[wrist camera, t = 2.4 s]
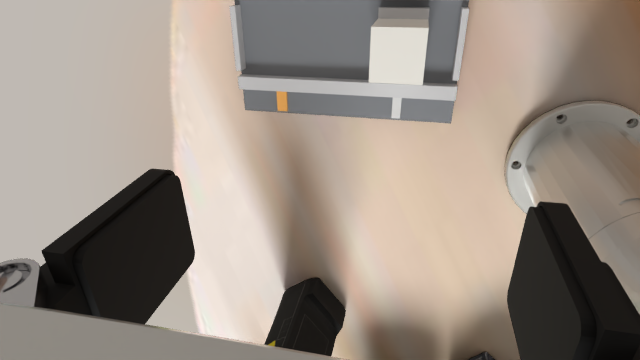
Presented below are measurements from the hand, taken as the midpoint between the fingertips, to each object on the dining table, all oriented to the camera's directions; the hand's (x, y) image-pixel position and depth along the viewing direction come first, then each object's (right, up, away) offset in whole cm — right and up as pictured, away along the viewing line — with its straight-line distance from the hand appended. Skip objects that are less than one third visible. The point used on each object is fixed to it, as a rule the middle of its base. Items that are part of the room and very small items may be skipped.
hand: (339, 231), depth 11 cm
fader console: (+2, +15, +27) cm, 31 cm away
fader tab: (+6, +13, +24) cm, 28 cm away
